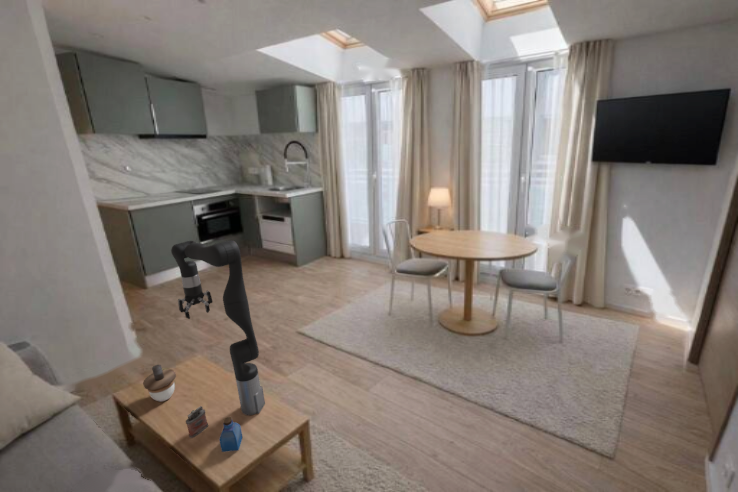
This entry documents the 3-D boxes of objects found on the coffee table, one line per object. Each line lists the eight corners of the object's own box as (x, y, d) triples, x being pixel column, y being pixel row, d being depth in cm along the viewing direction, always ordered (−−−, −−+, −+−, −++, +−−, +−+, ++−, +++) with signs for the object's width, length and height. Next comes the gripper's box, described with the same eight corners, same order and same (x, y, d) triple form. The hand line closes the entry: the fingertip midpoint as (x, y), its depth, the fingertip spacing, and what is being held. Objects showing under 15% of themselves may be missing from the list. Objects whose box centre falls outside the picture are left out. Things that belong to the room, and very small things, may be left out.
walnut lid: (181, 372, 170) (178, 359, 168) (162, 390, 158) (158, 377, 156) (157, 370, 172) (154, 357, 170) (136, 388, 160) (132, 375, 158)
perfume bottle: (226, 438, 143) (221, 414, 139) (242, 437, 144) (237, 413, 140) (221, 452, 137) (216, 427, 134) (238, 450, 138) (233, 425, 134)
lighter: (192, 439, 144) (187, 419, 141) (187, 435, 145) (182, 415, 142) (210, 425, 150) (205, 405, 147) (205, 422, 152) (200, 403, 149)
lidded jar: (181, 389, 172) (177, 372, 170) (167, 405, 162) (163, 388, 159) (160, 388, 173) (156, 372, 171) (145, 404, 163) (140, 387, 160)
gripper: (205, 277, 173) (211, 307, 178) (172, 286, 164) (180, 317, 169) (210, 281, 168) (216, 312, 173) (177, 291, 159) (184, 323, 164)
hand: (198, 315), depth 171 cm, fingers open, 8 cm apart
